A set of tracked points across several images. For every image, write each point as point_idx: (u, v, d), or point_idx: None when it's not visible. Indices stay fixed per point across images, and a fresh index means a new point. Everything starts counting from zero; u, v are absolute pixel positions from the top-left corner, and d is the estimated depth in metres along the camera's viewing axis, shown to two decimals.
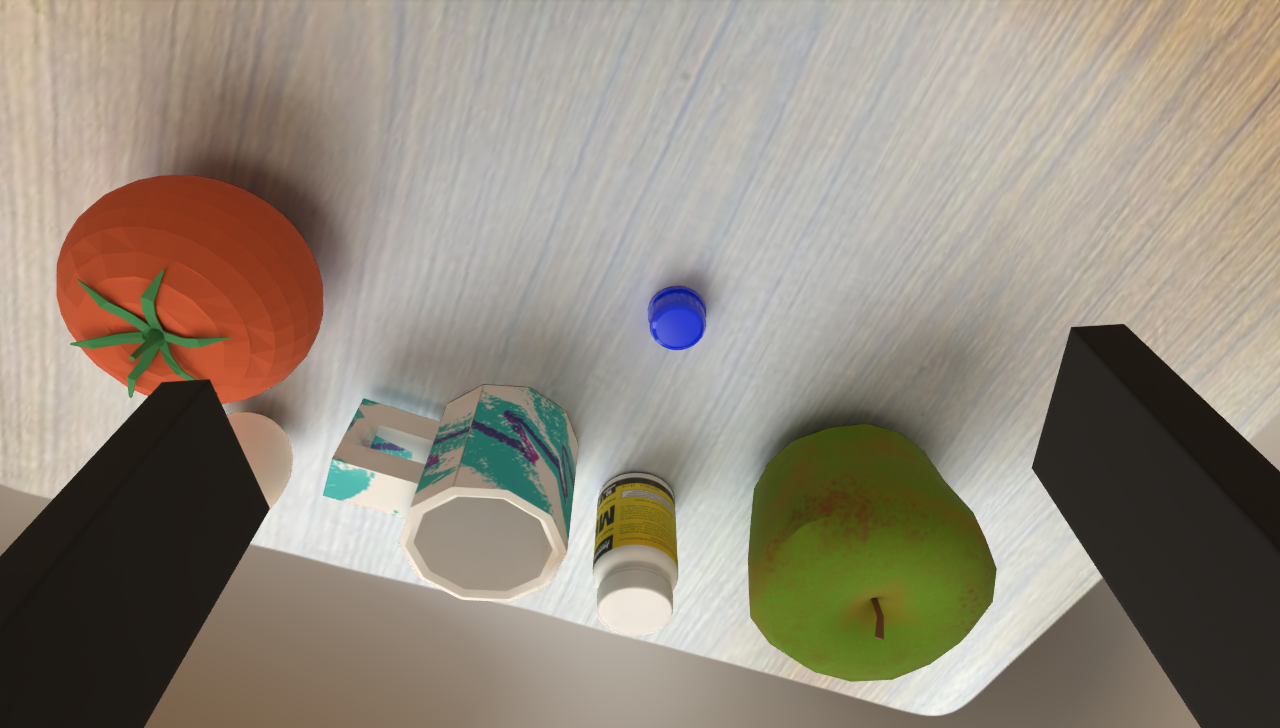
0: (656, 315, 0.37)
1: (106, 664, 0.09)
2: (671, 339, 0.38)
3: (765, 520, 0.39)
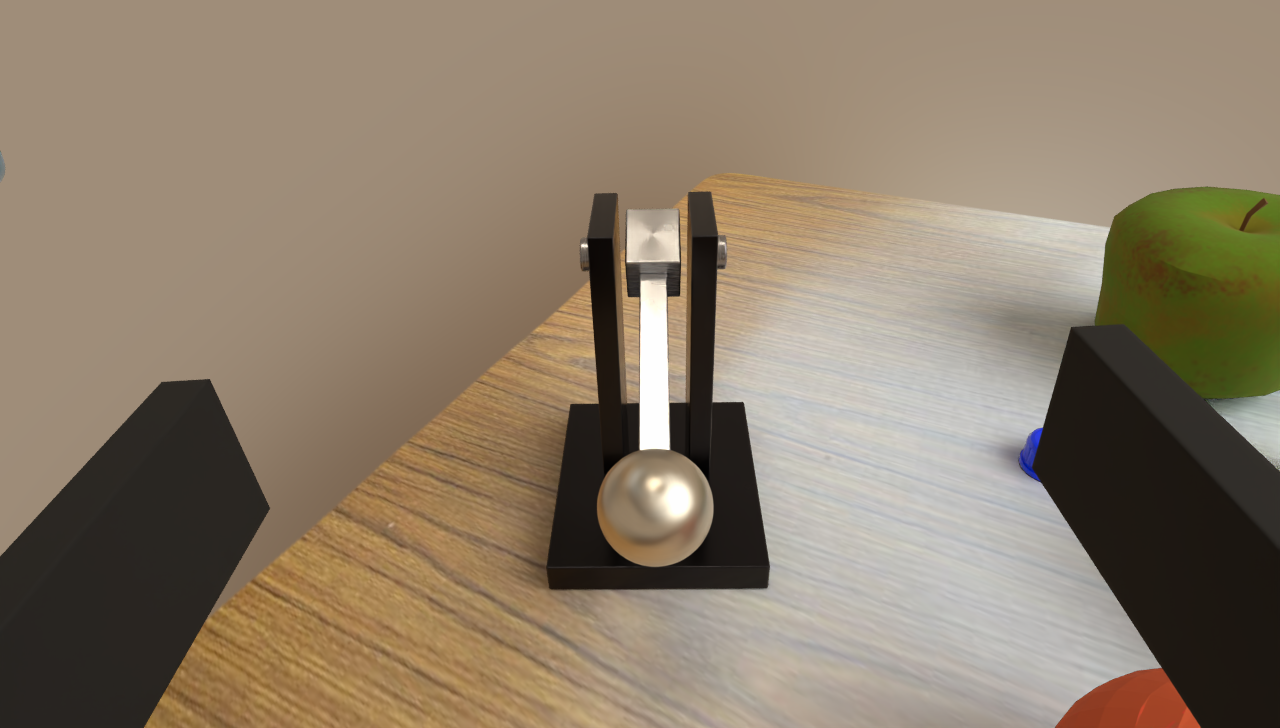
0: None
1: (106, 664, 0.09)
2: None
3: (1222, 325, 0.40)
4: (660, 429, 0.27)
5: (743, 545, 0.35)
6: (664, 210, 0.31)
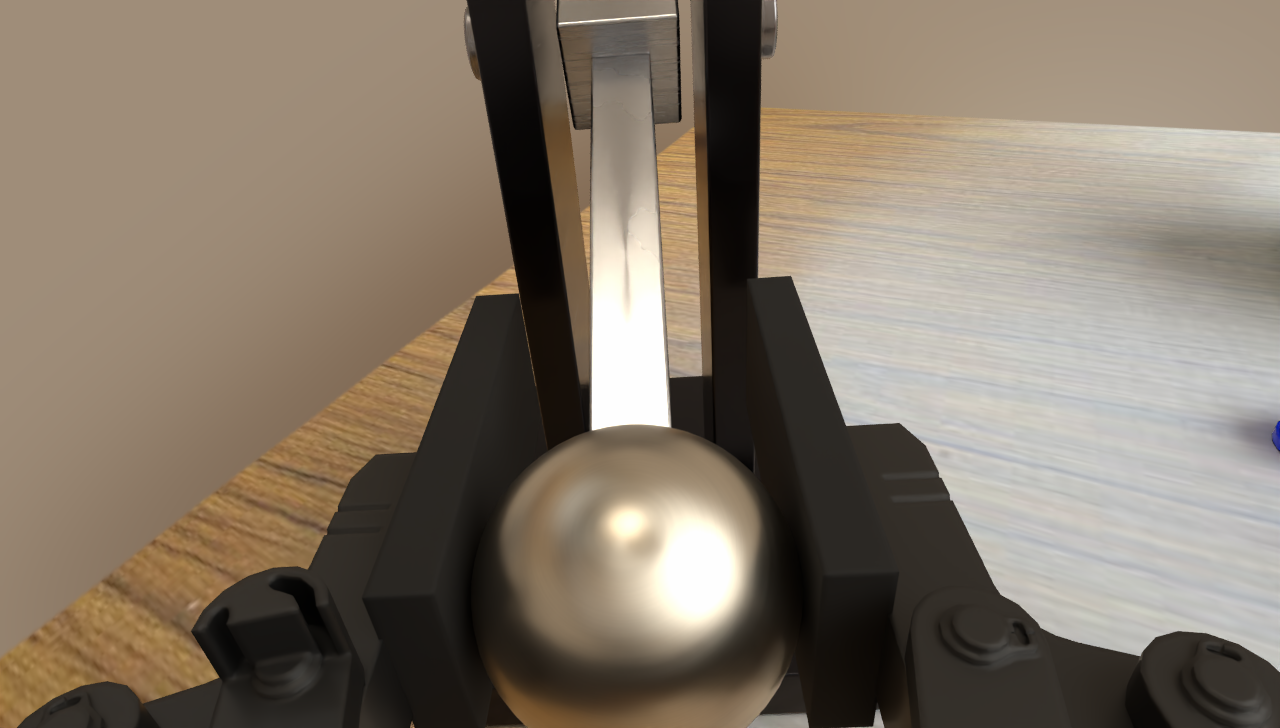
0: None
1: None
2: None
3: None
4: (644, 377, 0.10)
5: None
6: None
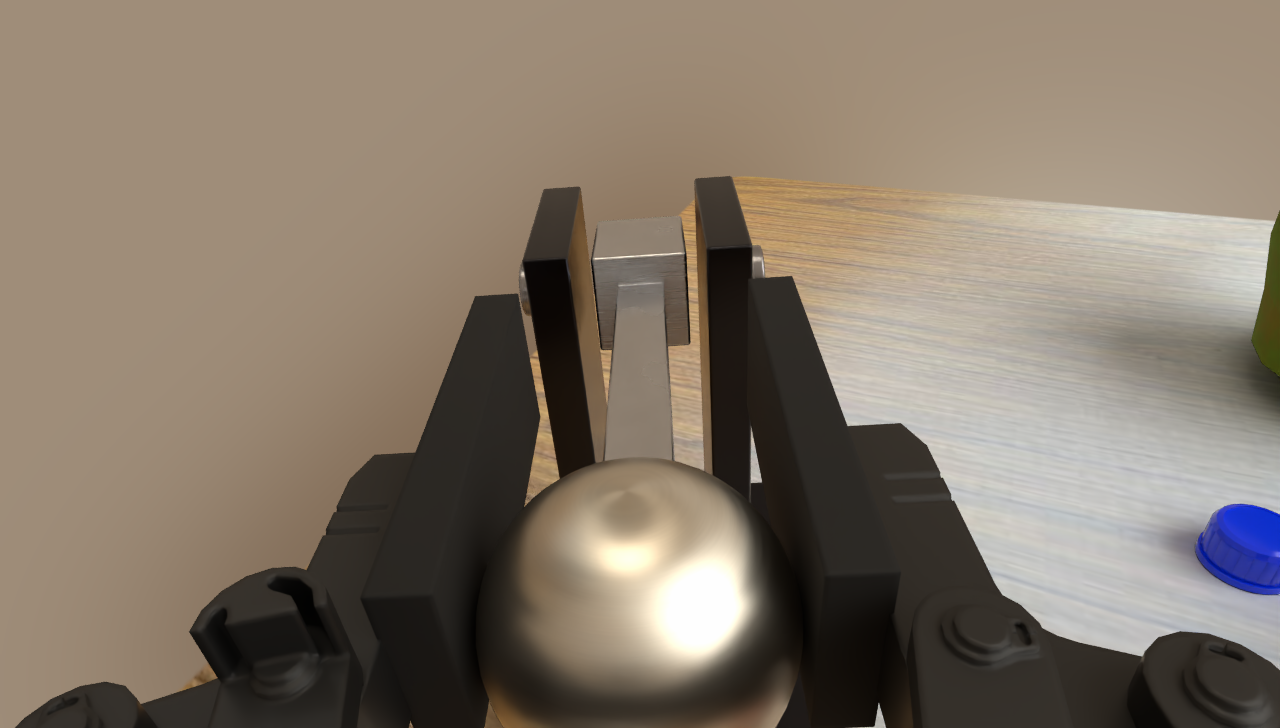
0: (1257, 553, 0.26)
1: (498, 517, 0.11)
2: None
3: None
4: (652, 458, 0.12)
5: None
6: (657, 217, 0.20)
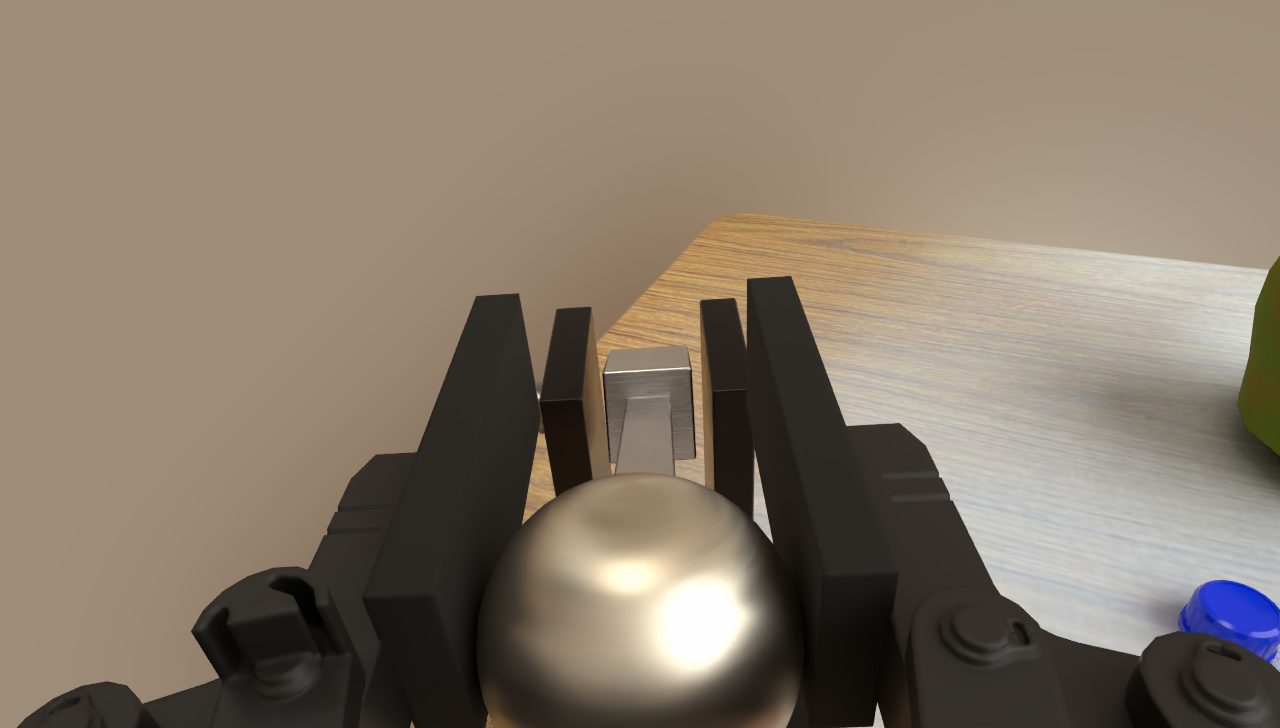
0: (1237, 633, 0.27)
1: (500, 517, 0.11)
2: (1265, 614, 0.27)
3: None
4: None
5: None
6: None
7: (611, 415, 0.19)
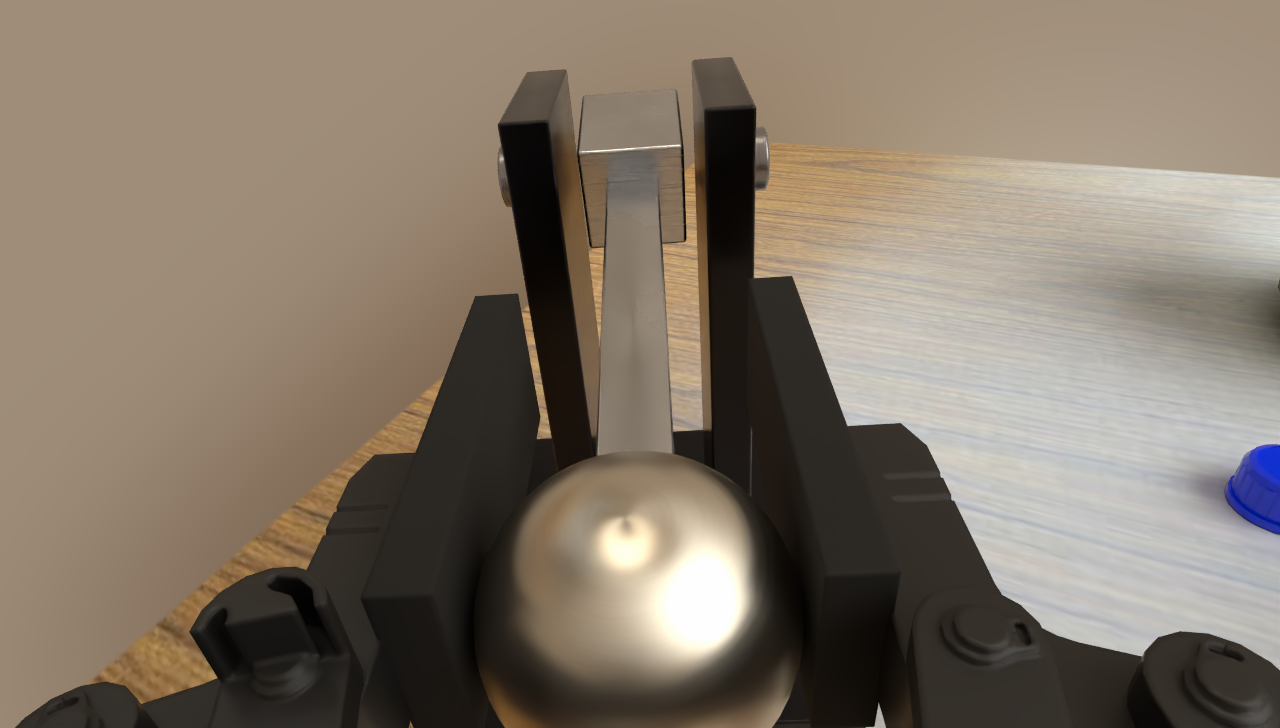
0: None
1: (498, 517, 0.11)
2: None
3: None
4: (649, 423, 0.11)
5: None
6: (650, 91, 0.17)
7: (590, 200, 0.16)
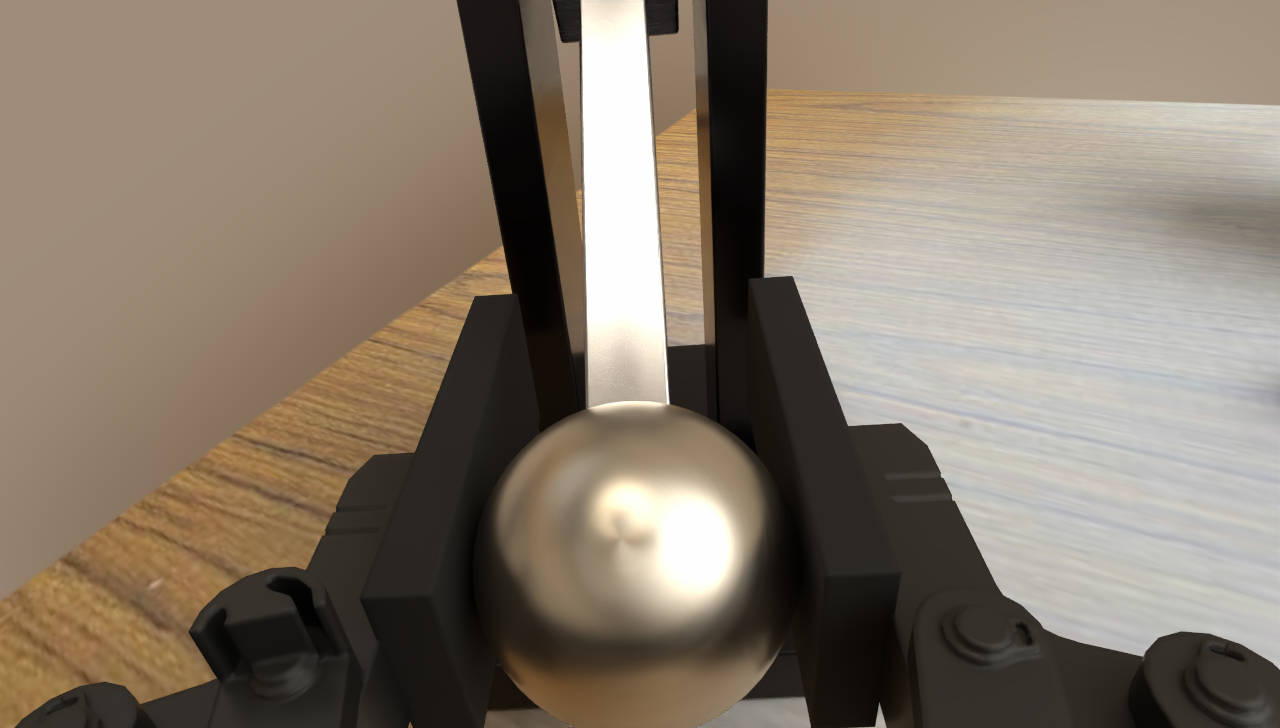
0: None
1: None
2: None
3: None
4: (641, 346, 0.10)
5: None
6: None
7: None
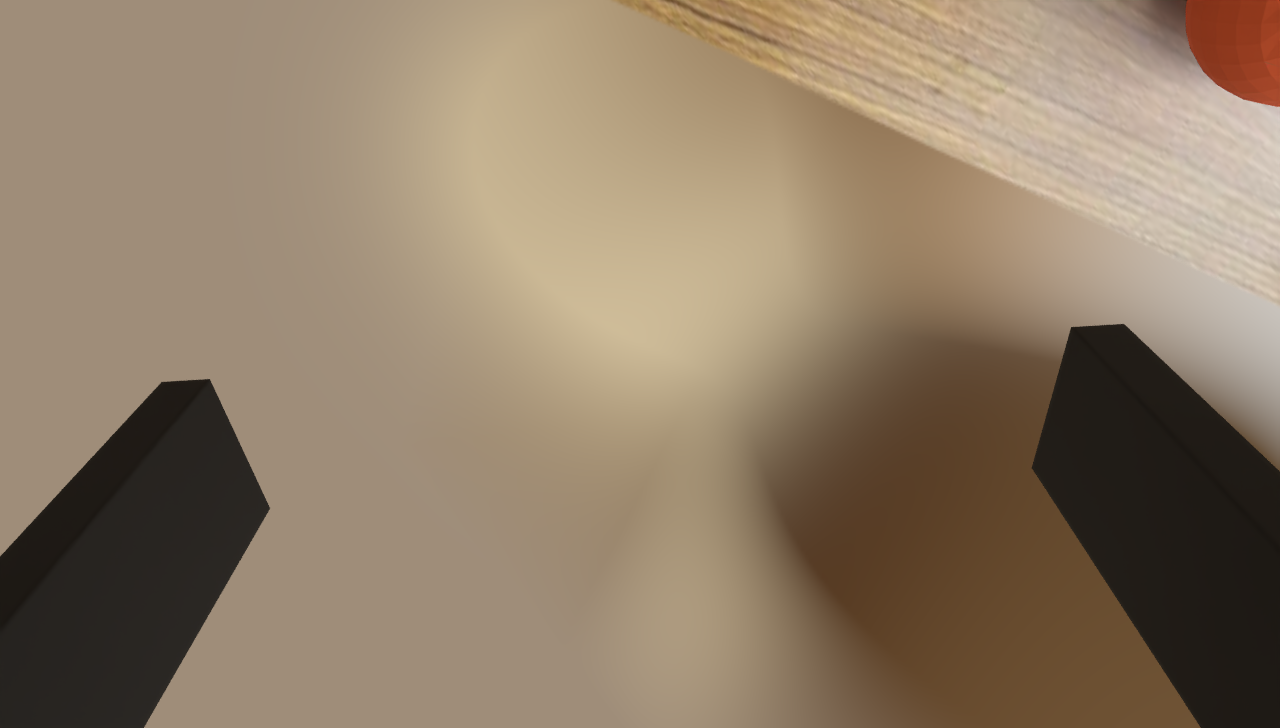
0: None
1: (106, 665, 0.09)
2: None
3: None
4: None
5: None
6: None
7: None
